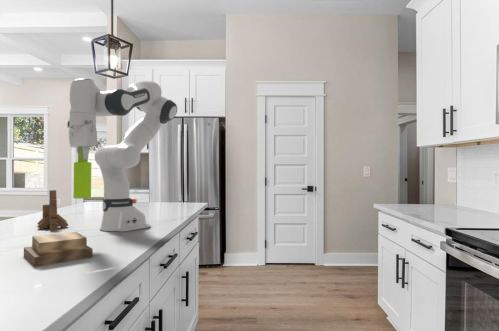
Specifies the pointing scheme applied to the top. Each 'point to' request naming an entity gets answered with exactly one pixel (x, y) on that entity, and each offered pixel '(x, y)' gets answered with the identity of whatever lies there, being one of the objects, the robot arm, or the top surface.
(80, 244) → the oak top slab
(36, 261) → the walnut base slab
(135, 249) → the top surface
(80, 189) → the soap dispenser
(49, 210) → the wooden blocks
